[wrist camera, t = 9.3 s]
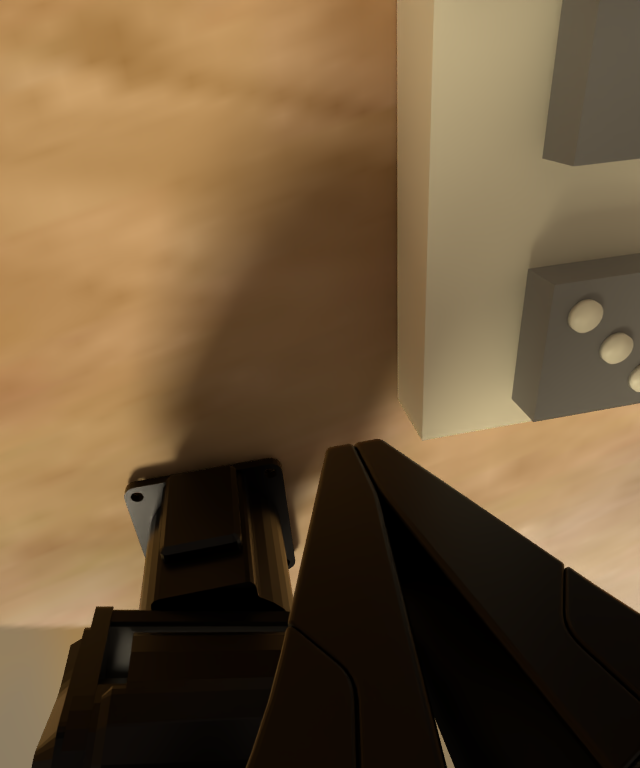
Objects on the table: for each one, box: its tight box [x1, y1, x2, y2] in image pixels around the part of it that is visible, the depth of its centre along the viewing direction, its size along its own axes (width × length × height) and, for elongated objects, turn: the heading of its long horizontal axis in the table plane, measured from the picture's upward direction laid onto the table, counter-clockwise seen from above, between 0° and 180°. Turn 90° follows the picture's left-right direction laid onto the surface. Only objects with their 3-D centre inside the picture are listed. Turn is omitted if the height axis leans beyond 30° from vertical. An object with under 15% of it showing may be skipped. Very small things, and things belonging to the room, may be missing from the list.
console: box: [397, 0, 640, 441], centre depth 16 cm, size 24×11×3 cm, turn 4°
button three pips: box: [511, 253, 640, 422], centre depth 17 cm, size 5×5×2 cm
